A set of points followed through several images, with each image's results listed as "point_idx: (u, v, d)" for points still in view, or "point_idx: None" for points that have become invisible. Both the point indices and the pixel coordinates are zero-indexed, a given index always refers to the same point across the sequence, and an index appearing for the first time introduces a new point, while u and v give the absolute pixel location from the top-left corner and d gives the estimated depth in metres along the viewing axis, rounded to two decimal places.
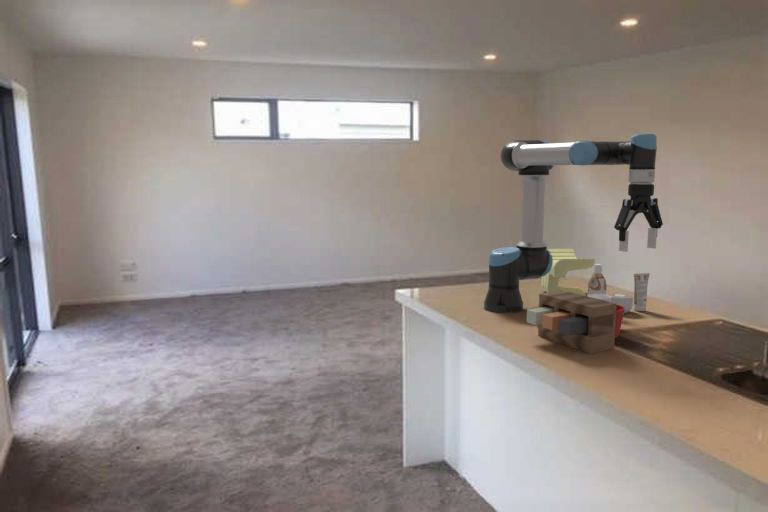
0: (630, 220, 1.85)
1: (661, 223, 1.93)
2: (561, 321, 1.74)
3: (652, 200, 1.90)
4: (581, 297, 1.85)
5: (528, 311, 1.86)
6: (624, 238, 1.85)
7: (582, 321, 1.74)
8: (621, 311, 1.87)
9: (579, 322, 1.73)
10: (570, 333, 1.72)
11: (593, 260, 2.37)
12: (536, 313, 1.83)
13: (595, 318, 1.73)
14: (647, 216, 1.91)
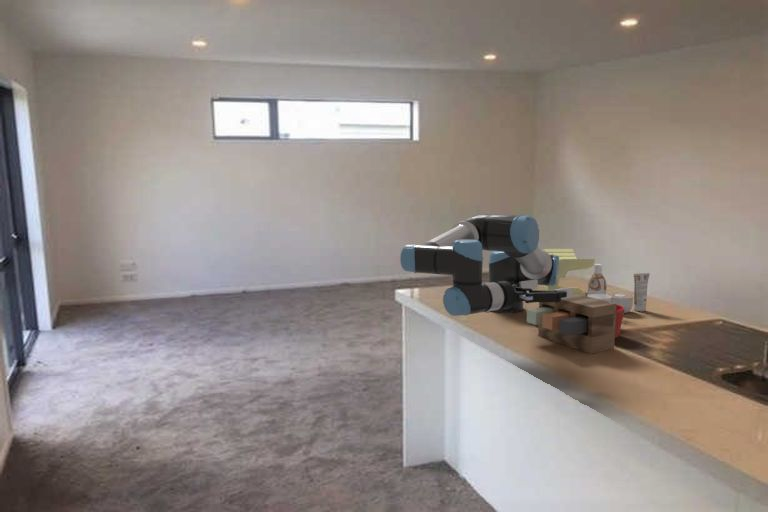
0: None
1: (557, 301, 1.57)
2: (561, 321, 1.74)
3: None
4: (581, 297, 1.85)
5: (528, 311, 1.86)
6: None
7: (582, 321, 1.74)
8: (621, 311, 1.87)
9: (579, 322, 1.73)
10: (570, 333, 1.72)
11: (593, 260, 2.37)
12: (536, 313, 1.83)
13: (595, 318, 1.73)
14: None
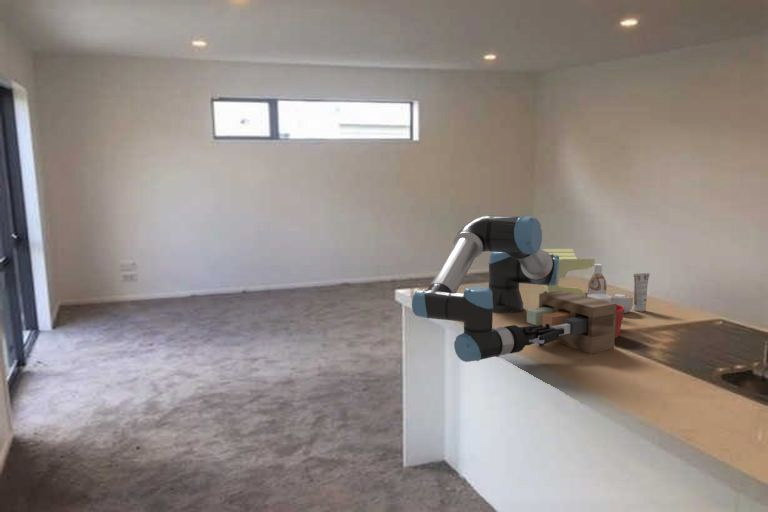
0: None
1: None
2: (565, 320, 1.75)
3: None
4: (581, 297, 1.85)
5: (528, 311, 1.86)
6: None
7: (586, 320, 1.74)
8: (621, 311, 1.87)
9: (583, 321, 1.74)
10: (574, 332, 1.73)
11: (593, 260, 2.37)
12: (536, 313, 1.83)
13: (595, 318, 1.73)
14: None
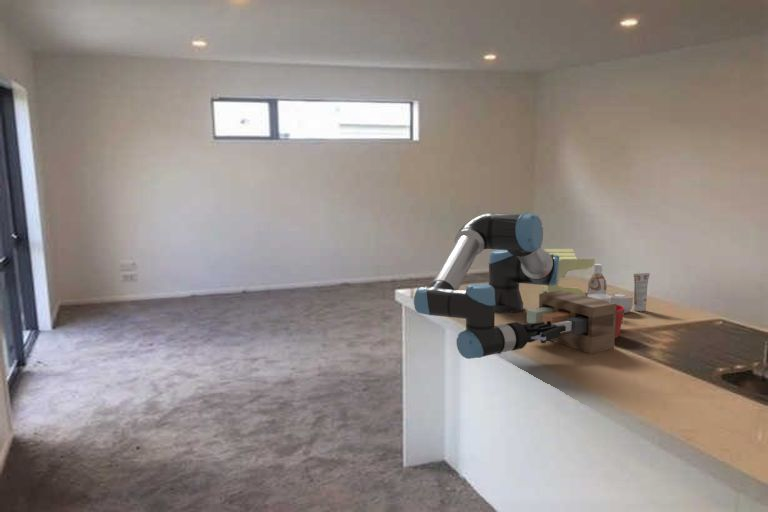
0: None
1: None
2: (566, 320, 1.75)
3: None
4: (581, 297, 1.85)
5: (528, 311, 1.86)
6: None
7: (587, 320, 1.75)
8: (621, 311, 1.87)
9: (584, 321, 1.74)
10: (575, 332, 1.73)
11: (593, 260, 2.37)
12: (536, 313, 1.83)
13: (595, 318, 1.73)
14: None
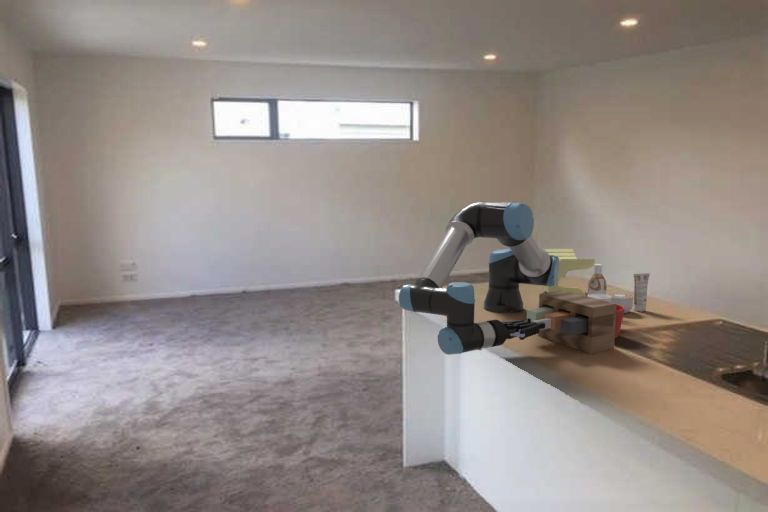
0: None
1: None
2: (562, 321, 1.74)
3: None
4: (581, 297, 1.85)
5: (528, 311, 1.86)
6: None
7: (583, 321, 1.74)
8: (621, 311, 1.87)
9: (580, 322, 1.73)
10: (571, 333, 1.72)
11: (593, 260, 2.37)
12: (536, 313, 1.83)
13: (595, 318, 1.73)
14: None
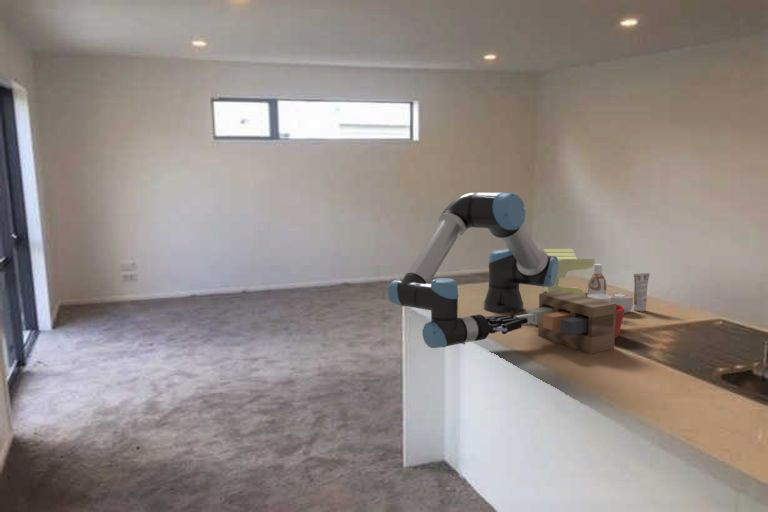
0: None
1: (519, 327, 1.79)
2: (562, 321, 1.74)
3: None
4: (581, 297, 1.85)
5: (529, 311, 1.86)
6: None
7: (583, 321, 1.74)
8: (621, 311, 1.87)
9: (580, 322, 1.73)
10: (571, 333, 1.72)
11: (593, 260, 2.37)
12: (537, 313, 1.84)
13: (595, 318, 1.73)
14: None
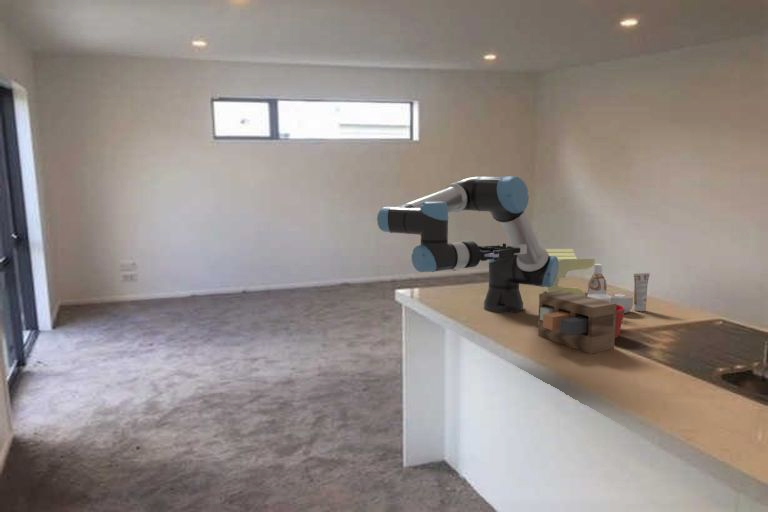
0: None
1: None
2: (562, 321, 1.74)
3: None
4: (581, 297, 1.85)
5: (541, 309, 1.89)
6: None
7: (583, 321, 1.74)
8: (621, 311, 1.87)
9: (580, 322, 1.73)
10: (571, 333, 1.72)
11: (593, 260, 2.37)
12: (549, 311, 1.86)
13: (595, 318, 1.73)
14: None
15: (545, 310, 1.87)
